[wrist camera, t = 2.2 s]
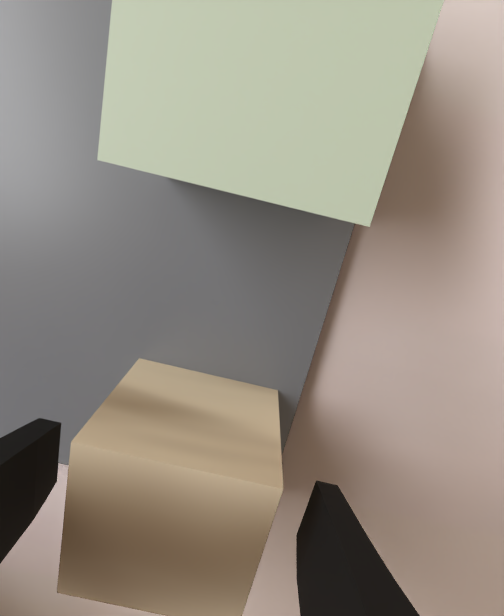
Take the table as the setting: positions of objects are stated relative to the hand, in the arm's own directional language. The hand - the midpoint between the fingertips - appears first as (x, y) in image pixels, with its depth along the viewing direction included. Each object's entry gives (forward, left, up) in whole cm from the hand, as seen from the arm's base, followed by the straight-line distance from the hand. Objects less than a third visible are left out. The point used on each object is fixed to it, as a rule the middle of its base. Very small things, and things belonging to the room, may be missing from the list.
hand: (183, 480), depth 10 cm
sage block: (+10, 0, -2) cm, 10 cm away
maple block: (0, 0, -2) cm, 2 cm away
